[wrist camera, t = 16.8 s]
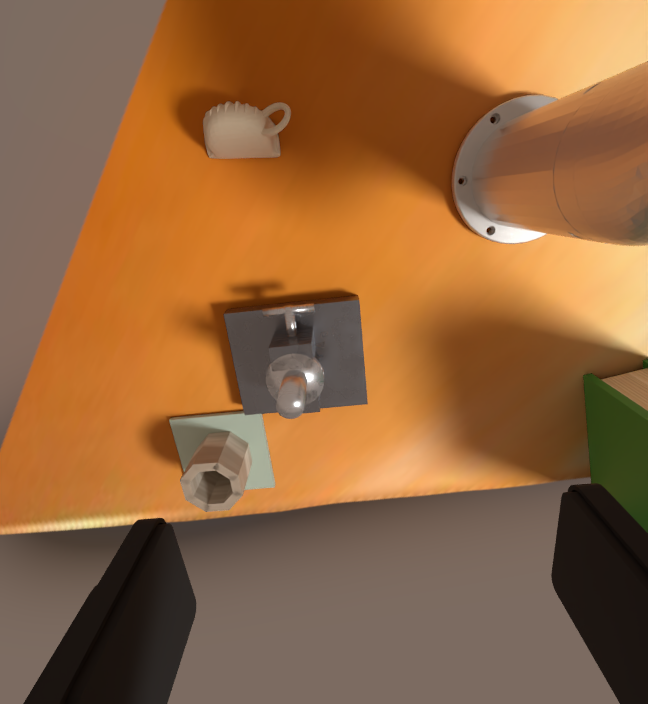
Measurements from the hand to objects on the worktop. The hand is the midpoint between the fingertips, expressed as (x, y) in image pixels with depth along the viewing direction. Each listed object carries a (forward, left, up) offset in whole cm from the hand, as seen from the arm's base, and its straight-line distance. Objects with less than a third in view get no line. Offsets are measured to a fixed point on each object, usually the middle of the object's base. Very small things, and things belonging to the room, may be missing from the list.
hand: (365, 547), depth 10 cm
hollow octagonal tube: (+16, +20, -34) cm, 42 cm away
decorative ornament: (+7, -14, -35) cm, 38 cm away
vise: (+5, +8, -34) cm, 36 cm away
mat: (+16, +20, -34) cm, 43 cm away
